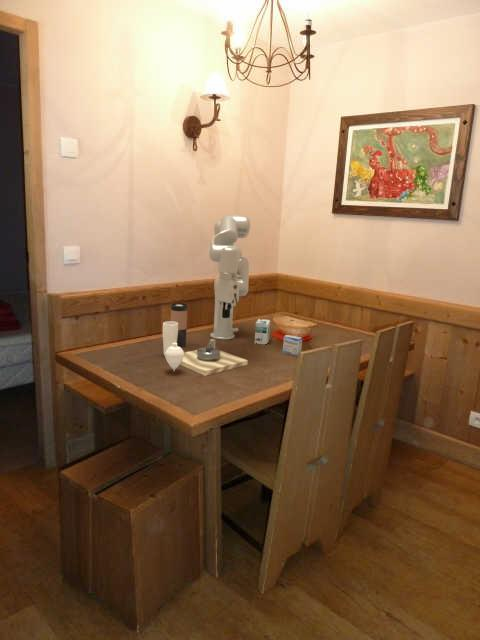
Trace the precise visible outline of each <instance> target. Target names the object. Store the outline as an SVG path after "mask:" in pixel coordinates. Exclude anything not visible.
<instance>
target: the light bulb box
mask: <svg viewBox="0 0 480 640" xmlns="http://www.w3.org/2000/svg"><path fill="white" fill-rule="evenodd" d="M254 330H255V332H254V344H256V343H257V344H258V345H265V344H267V343H269V341H270V333H271V332H270V331H271V320H270V319H264V318H263V319H262V318H258V319H257V320H256V322H255V329H254ZM267 345H268V344H267Z"/></svg>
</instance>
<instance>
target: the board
mask: <svg viewBox="0 0 480 640" xmlns="http://www.w3.org/2000/svg"><path fill="white" fill-rule="evenodd" d="M197 350H198V349H195V350H191V351H184V358H183V360H182V362H181V363H180V364H179V366H181V367H184V368H186V369H188V370H191V371H193V372H195V373H198V374H200V375H202V376H205V377H206V376H210V375H214V374H218V373H221V372H224V371H229V370H233V369H237V368H240V367H245V366H248V360H247V359H245V358H242V357H240V356H237V355H234V354H232V353H229V352H226V351H222V350H221V349H219V350H220V359H219V360H216V361H203V360H200V359H198V358H197Z"/></svg>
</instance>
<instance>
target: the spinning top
mask: <svg viewBox="0 0 480 640" xmlns="http://www.w3.org/2000/svg"><path fill="white" fill-rule="evenodd" d="M172 344H173V346H171V347H169V348H168V349H167V350H166V352H165V356H164V357H165V358H164V359H165V360H166V362H167V363H168V365H169V366H170V368H171V369H172V370H173V372H176V371H175V370H176V369H177V368H179V366H180V365H179V364H180V363H181V362H182V360H183V358H184V353H185V351H184V350H183V349H182V347H178V346H177V343H172Z"/></svg>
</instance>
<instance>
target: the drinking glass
mask: <svg viewBox="0 0 480 640" xmlns="http://www.w3.org/2000/svg"><path fill="white" fill-rule="evenodd" d="M177 337H178V323H177V322H173V321H171V320H169V321H164V322H163V323H162V345H163V357H165V352H166V350H167V349H168V348H169V347H171V346H173V344H172V343H177Z"/></svg>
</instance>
